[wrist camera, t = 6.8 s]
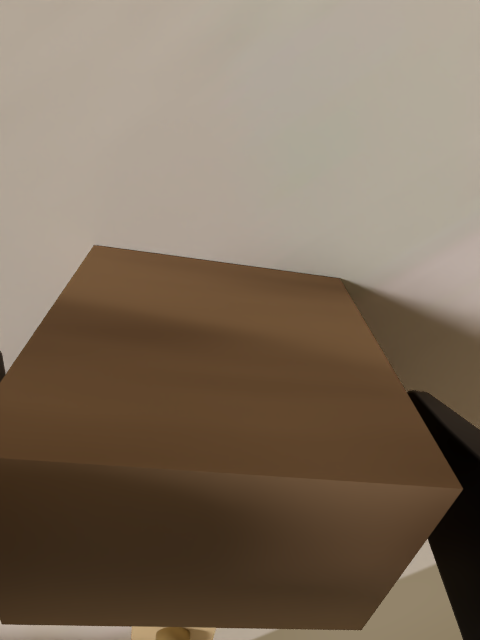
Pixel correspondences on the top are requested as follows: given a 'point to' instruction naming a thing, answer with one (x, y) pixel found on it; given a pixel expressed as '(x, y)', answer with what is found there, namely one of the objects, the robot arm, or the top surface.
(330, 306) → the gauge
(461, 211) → the top surface
